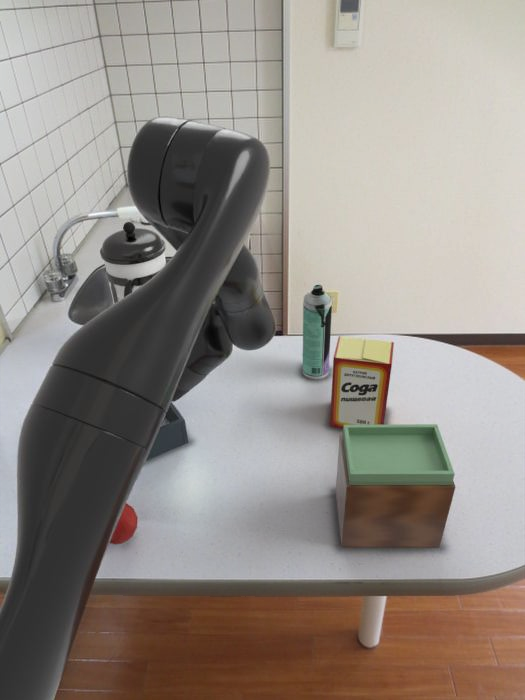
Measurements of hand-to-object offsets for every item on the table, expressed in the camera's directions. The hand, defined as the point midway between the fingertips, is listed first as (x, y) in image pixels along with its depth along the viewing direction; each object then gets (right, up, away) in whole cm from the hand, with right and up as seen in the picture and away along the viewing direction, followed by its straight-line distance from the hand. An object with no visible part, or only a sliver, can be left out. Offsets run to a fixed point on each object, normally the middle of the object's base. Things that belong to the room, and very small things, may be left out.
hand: (125, 414), depth 94 cm
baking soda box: (+42, -1, +4) cm, 42 cm away
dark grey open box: (+2, -4, +2) cm, 5 cm away
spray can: (+36, +7, +16) cm, 40 cm away
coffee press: (0, +11, +24) cm, 26 cm away
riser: (+43, -14, -14) cm, 47 cm away
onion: (+3, -17, -15) cm, 23 cm away
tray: (+43, -3, -22) cm, 48 cm away
